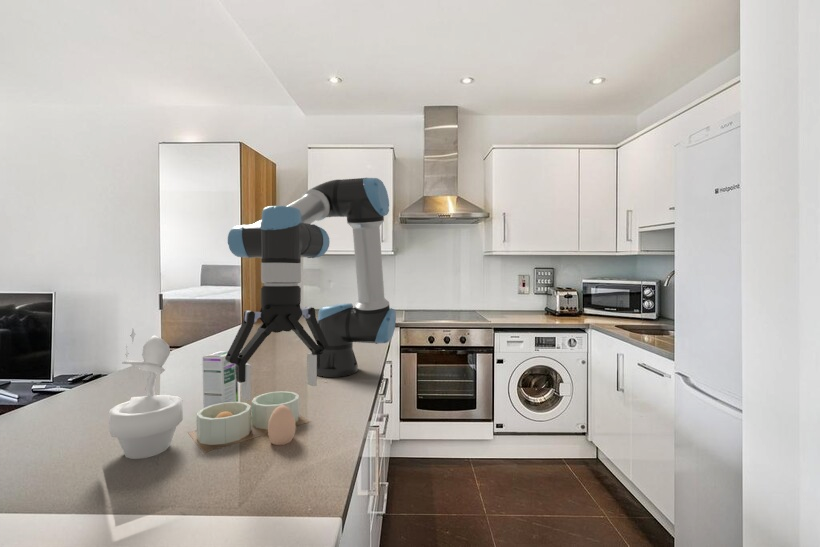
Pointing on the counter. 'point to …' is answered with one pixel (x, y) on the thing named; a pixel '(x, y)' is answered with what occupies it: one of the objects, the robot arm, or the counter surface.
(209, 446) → the rack board
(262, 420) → the cup
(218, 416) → the rubber ball
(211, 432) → the cup
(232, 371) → the syrup box
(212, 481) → the counter surface
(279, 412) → the egg
